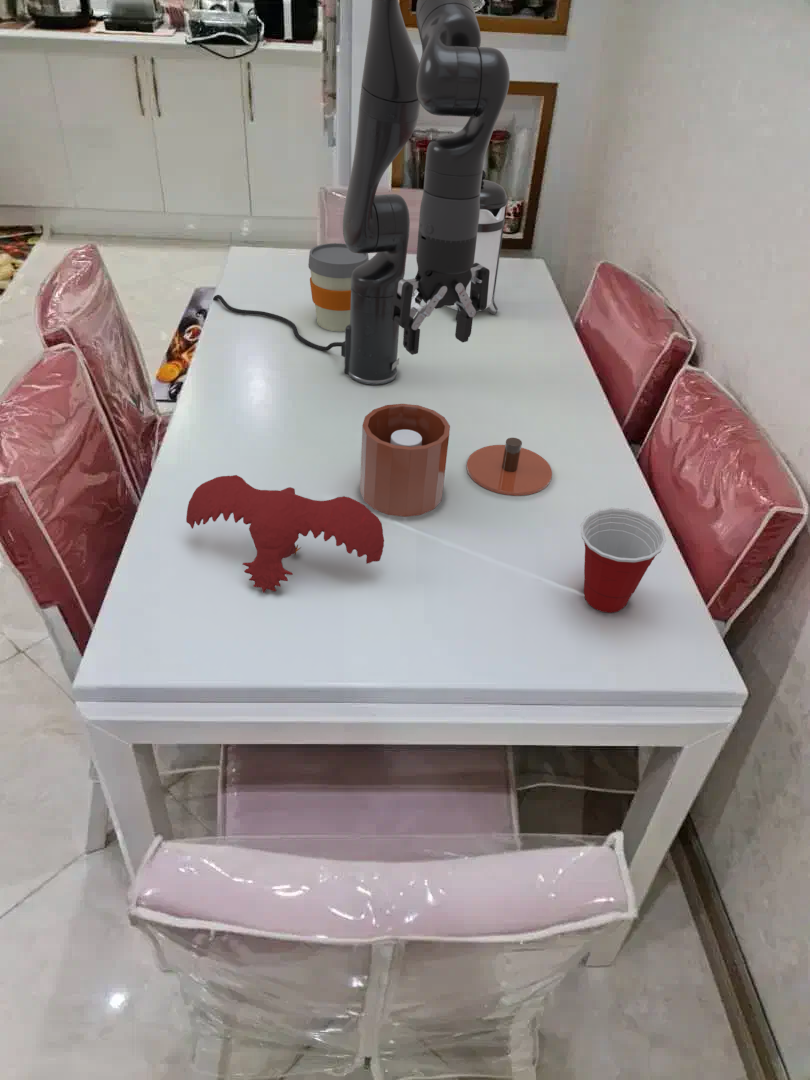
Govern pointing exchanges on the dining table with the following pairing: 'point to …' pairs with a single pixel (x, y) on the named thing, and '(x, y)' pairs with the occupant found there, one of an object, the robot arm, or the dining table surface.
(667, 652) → the dining table surface
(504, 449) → the lid
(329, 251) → the reusable coffee cup
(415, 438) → the pill bottle
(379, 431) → the pot
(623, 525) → the plastic cup
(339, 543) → the decorative bird sculpture
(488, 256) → the coffee press
